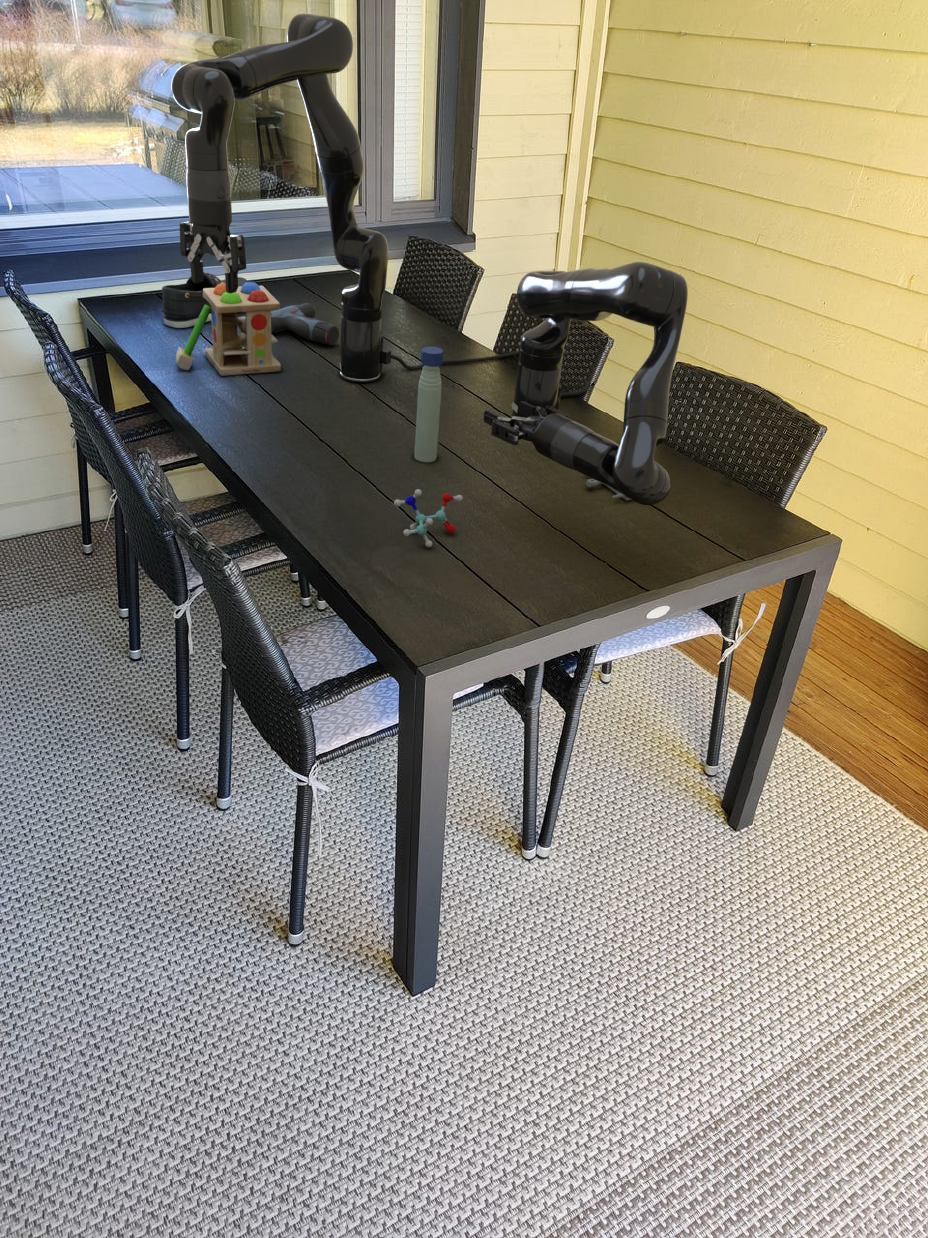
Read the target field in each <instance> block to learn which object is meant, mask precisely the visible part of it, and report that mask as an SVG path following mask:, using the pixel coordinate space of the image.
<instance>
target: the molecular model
mask: <svg viewBox="0 0 928 1238" xmlns="http://www.w3.org/2000/svg"><path fill="white" fill-rule="evenodd" d="M422 494H423V491H422V490H421V489H419V488H417V489H415V490H414V494H413V495H409V496H407V497H406V499H402V500H401V499H397V498H396V499H395V500H394V501H393V504H394V506H395V507H401V505H405V504H407V505H408V506H411V507H412V509H413V511H414V513H415V515H416V516H415V522H414V523H411V524H410V525H409V529H408V528H406V529H404V530H403V532H402V533H403V536H405V537H410V535H413V534H417V535H418V536H421V537H423V540H424V541H425V543H424V545H425V547H426V548H432V546H433V542H432V540H430V539H429V538H428V535H427V533H428V527H429V526H432V525H433V524H434V519H436V521H439V522H440V523H442V525H443V527H445V530H446V532H447V533H448V534H454V533H455V532H456V526H455V525H454V524H452V523H450V521H449V520H448V518H447V515H446V512H445V510H446V507H447V504H448V503H450V502H451V501H456V502H459V503H460V502H462V501H463V499H464V498H463V495H461V494H457V495H451V494H450V493H448V492H446V493H444V494H442V496H441V500H442V501H443V502H442V504H441V508H440V510H438V511H436V512H435V514H433V515H432V514H431V515H425V514H423V513H421V512H420V511H419V509H418V507H417V505H416V503H417V498H418V497H420V496H422Z"/></svg>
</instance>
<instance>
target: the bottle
mask: <svg viewBox="0 0 928 1238" xmlns="http://www.w3.org/2000/svg"><path fill="white" fill-rule="evenodd" d="M442 382H443V381H442V377H441V369H440V366H437V367H430V366H426V365H424V367H423V368H422V370H421V374H420V377H419V380H418V387H417V388H418V389H417V405H416V421H415V422H416V423H415V439H414V452H413V453H414V455H413V457H414V459H415V460H416V461H418V462H421V463H432V462H435V461H436V460H437V459H438V458H437V456H438V443H439V442H438V441H439V431H440V430H439V428H440V415H441V404H442V403H441V402H442V390H443V389H442V388H443V386H442Z"/></svg>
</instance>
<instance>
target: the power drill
mask: <svg viewBox="0 0 928 1238" xmlns="http://www.w3.org/2000/svg"><path fill="white" fill-rule="evenodd" d="M315 315H316V308H315V306H314V305H313V304H312V303H311V302H305V303H300V304H295V305H294V304H293V305H289V306H285V307H283V308H280V310H271V334H272V335H273V334H275V333H276V334H277V333H279V332H282V331H286V330H290V331H292V332H293V333H295V334H296V335H298V336H300V337H302V338H305V339H307V340H309V341H313V342H316V343H319V344H323V345H327V346H333V345H335V344H336V343H337V342H338V340H339V337H340V330H339V328H338V326H336V325H334V324H333V323H332V324H331V323H329V322H328V321H323V320H321V319H317V318H314V317H315Z"/></svg>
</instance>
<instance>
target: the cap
mask: <svg viewBox="0 0 928 1238" xmlns="http://www.w3.org/2000/svg"><path fill="white" fill-rule="evenodd" d="M420 355H421V356H420V363H421V365H422V364H423V365H426V366H430V367H437V366H439V367H440V366H442V365H443V364H442V362H443V360H444V349H442V348H440V347H437V346H424V347H422V349H421V353H420Z"/></svg>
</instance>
